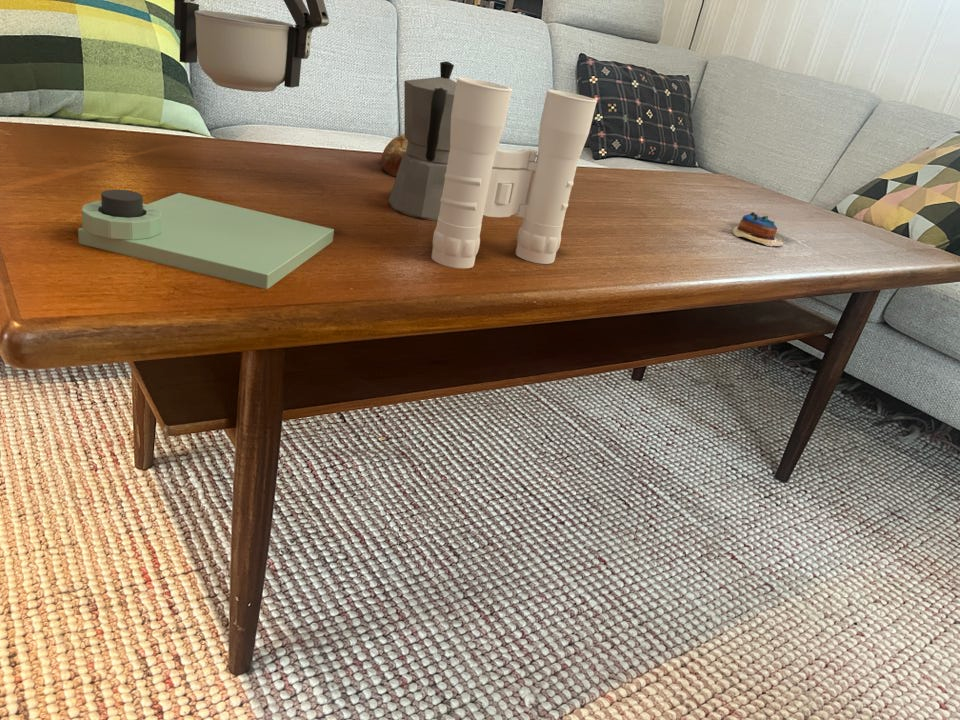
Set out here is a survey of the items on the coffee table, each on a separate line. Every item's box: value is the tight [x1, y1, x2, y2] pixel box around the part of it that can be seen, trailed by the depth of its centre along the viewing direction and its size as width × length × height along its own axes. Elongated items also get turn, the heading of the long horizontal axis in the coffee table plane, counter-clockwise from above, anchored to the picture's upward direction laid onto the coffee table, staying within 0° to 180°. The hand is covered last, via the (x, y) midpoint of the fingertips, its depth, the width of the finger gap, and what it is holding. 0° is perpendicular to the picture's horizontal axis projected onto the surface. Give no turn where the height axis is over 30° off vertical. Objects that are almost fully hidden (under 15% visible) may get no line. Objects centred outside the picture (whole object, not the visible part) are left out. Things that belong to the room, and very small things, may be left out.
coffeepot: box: [388, 61, 457, 222], centre depth 89 cm, size 15×9×18 cm, turn 179°
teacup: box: [194, 9, 295, 93], centre depth 86 cm, size 14×11×8 cm
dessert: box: [732, 211, 784, 247], centre depth 116 cm, size 8×7×6 cm
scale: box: [77, 192, 335, 290], centre depth 68 cm, size 18×16×3 cm
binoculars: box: [431, 77, 598, 269], centre depth 77 cm, size 17×5×18 cm, turn 127°
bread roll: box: [381, 133, 408, 177], centre depth 110 cm, size 10×10×8 cm
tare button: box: [100, 189, 144, 218], centre depth 63 cm, size 3×3×2 cm
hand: (239, 74), depth 87 cm, fingers closed on teacup, 12 cm apart
